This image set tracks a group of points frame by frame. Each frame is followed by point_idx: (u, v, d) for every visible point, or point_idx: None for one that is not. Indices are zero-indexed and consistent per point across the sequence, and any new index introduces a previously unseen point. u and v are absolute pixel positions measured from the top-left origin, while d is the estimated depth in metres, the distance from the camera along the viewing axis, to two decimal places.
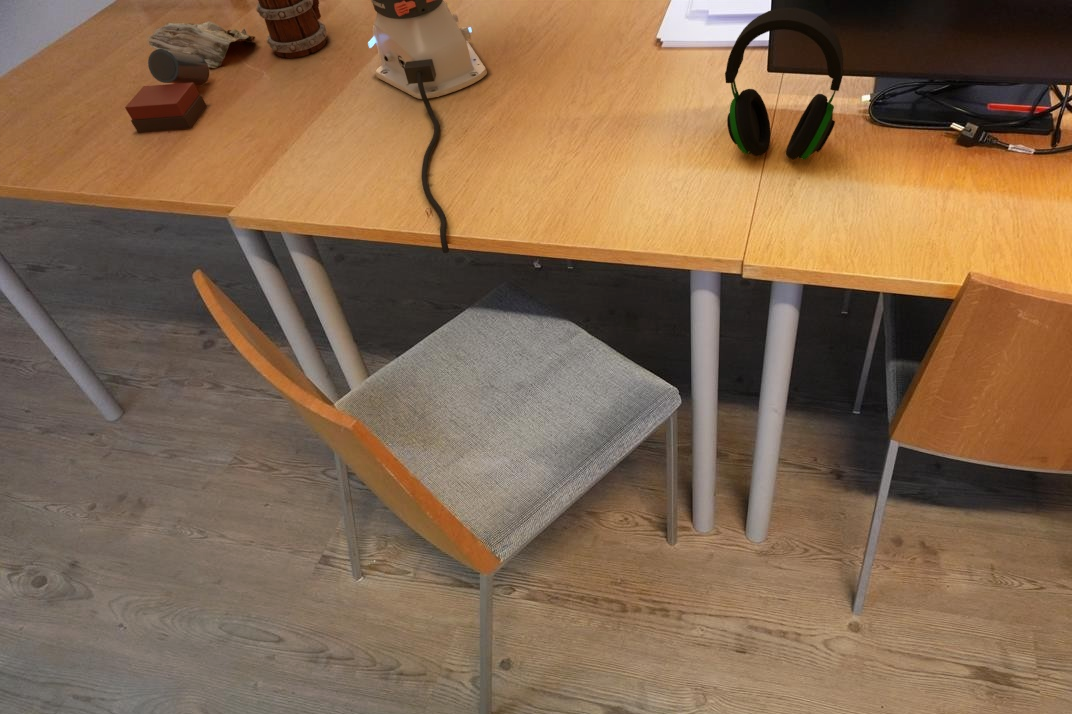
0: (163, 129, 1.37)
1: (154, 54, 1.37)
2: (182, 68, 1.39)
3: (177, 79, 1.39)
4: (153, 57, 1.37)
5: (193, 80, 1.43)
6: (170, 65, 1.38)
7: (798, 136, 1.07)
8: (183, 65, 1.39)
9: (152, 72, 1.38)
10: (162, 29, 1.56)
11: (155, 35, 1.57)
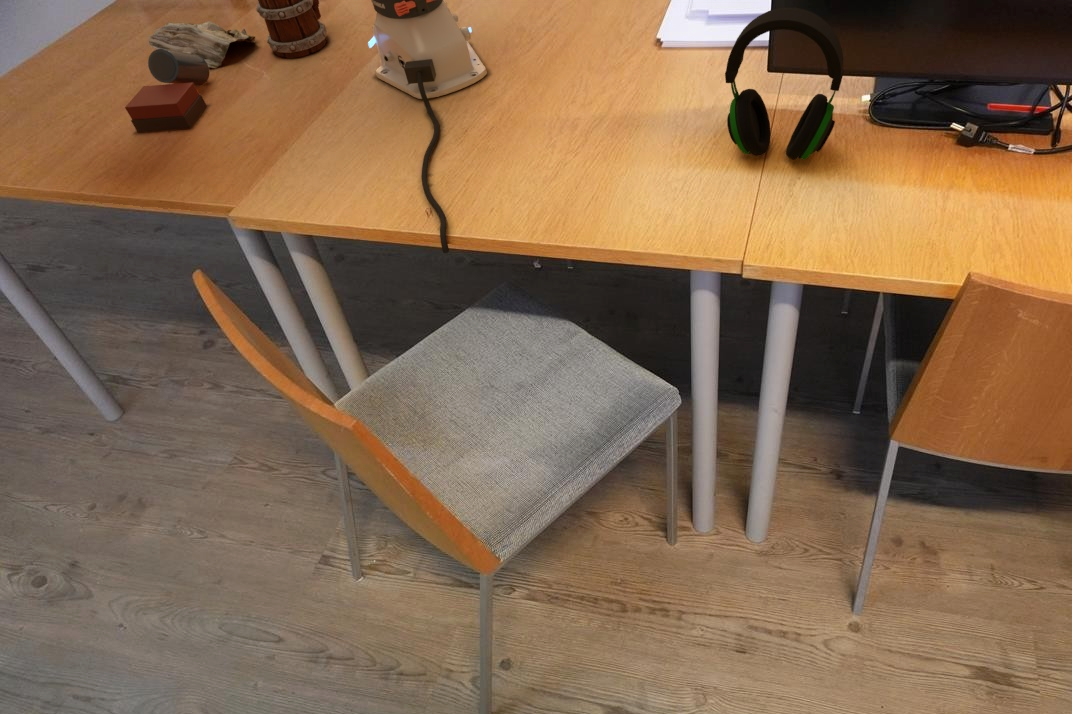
0: (163, 129, 1.37)
1: (154, 54, 1.37)
2: (182, 68, 1.39)
3: (177, 79, 1.39)
4: (153, 57, 1.37)
5: (193, 80, 1.43)
6: (170, 65, 1.38)
7: (798, 136, 1.07)
8: (183, 65, 1.39)
9: (152, 72, 1.38)
10: (162, 29, 1.56)
11: (155, 35, 1.57)
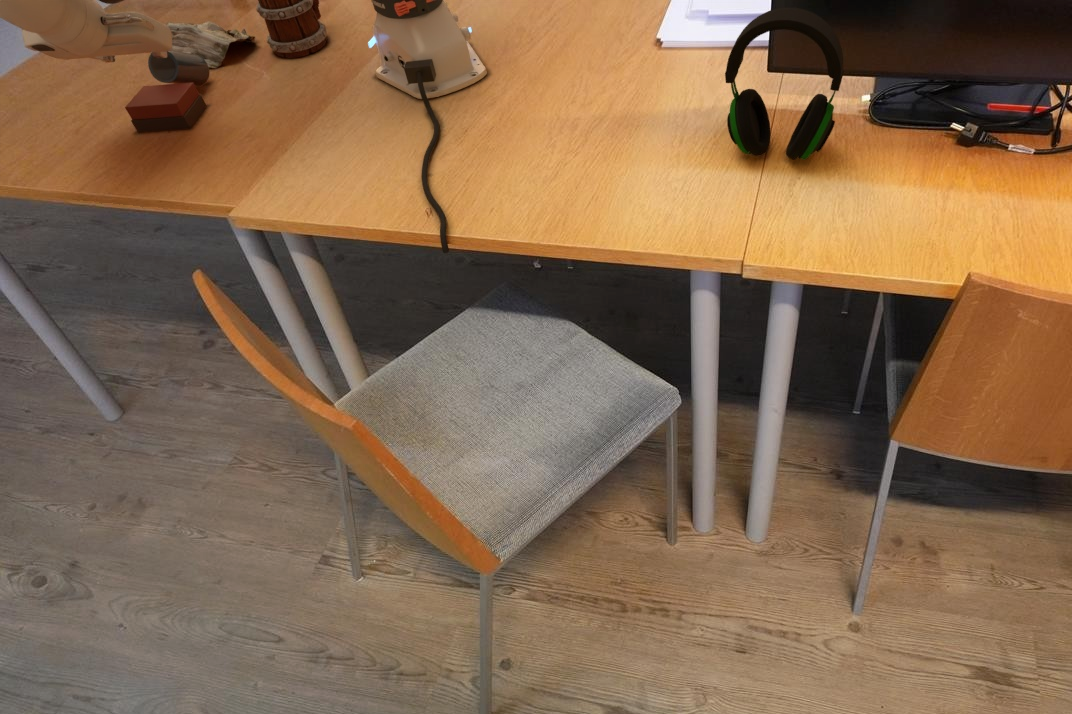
0: (163, 129, 1.37)
1: None
2: (182, 68, 1.39)
3: (177, 79, 1.39)
4: (153, 57, 1.37)
5: (193, 80, 1.43)
6: (170, 65, 1.38)
7: (798, 136, 1.07)
8: (183, 65, 1.39)
9: (152, 72, 1.38)
10: None
11: None
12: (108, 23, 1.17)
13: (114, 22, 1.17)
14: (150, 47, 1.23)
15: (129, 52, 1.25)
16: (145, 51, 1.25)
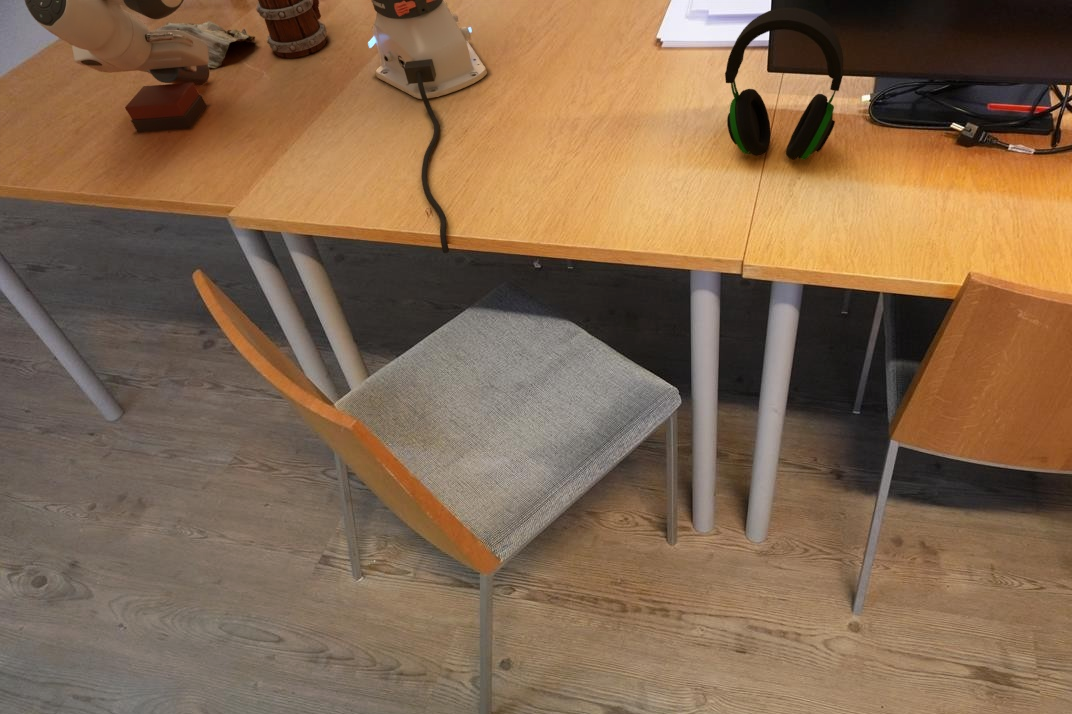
0: (163, 129, 1.37)
1: None
2: (182, 68, 1.39)
3: (177, 79, 1.39)
4: None
5: (193, 80, 1.43)
6: None
7: (798, 136, 1.07)
8: None
9: (152, 72, 1.38)
10: (162, 29, 1.56)
11: None
12: (152, 40, 1.27)
13: (158, 39, 1.27)
14: (189, 61, 1.33)
15: (169, 66, 1.35)
16: (184, 65, 1.35)
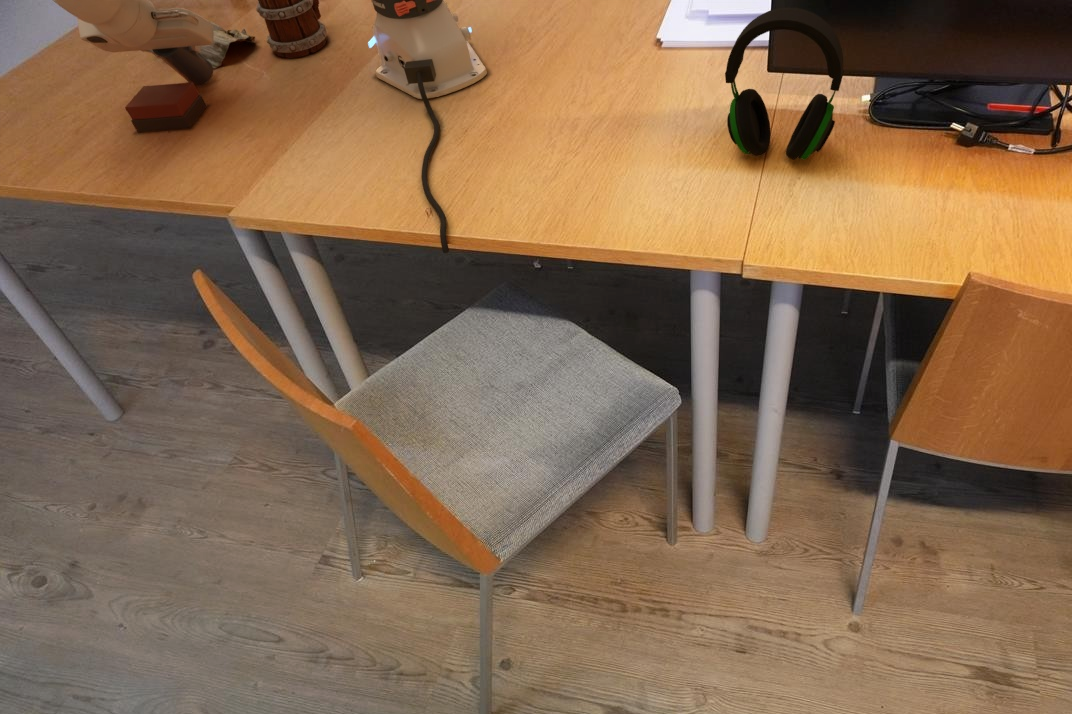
0: (163, 129, 1.37)
1: None
2: (184, 47, 1.40)
3: (176, 56, 1.39)
4: None
5: (193, 68, 1.43)
6: None
7: (798, 136, 1.07)
8: None
9: None
10: None
11: None
12: (158, 17, 1.28)
13: (163, 16, 1.28)
14: (193, 41, 1.35)
15: (173, 45, 1.36)
16: (188, 45, 1.36)
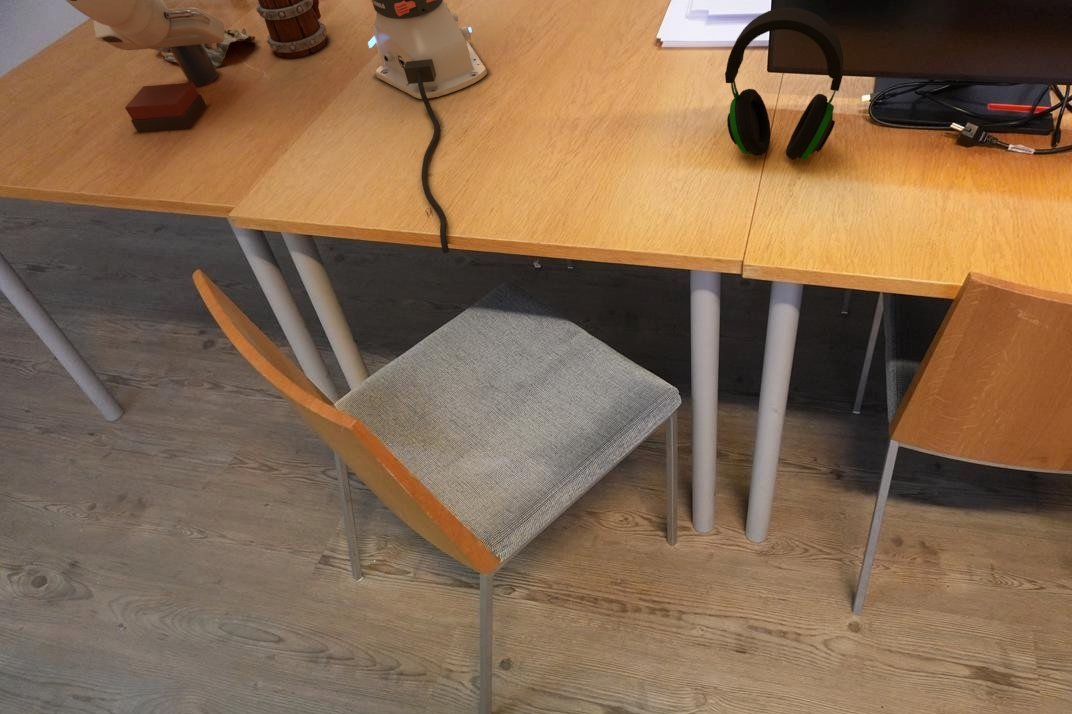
0: (163, 129, 1.37)
1: None
2: None
3: None
4: None
5: (196, 61, 1.45)
6: None
7: (798, 136, 1.07)
8: None
9: None
10: None
11: None
12: (170, 17, 1.32)
13: (176, 16, 1.32)
14: (205, 39, 1.38)
15: (186, 43, 1.40)
16: (200, 43, 1.40)
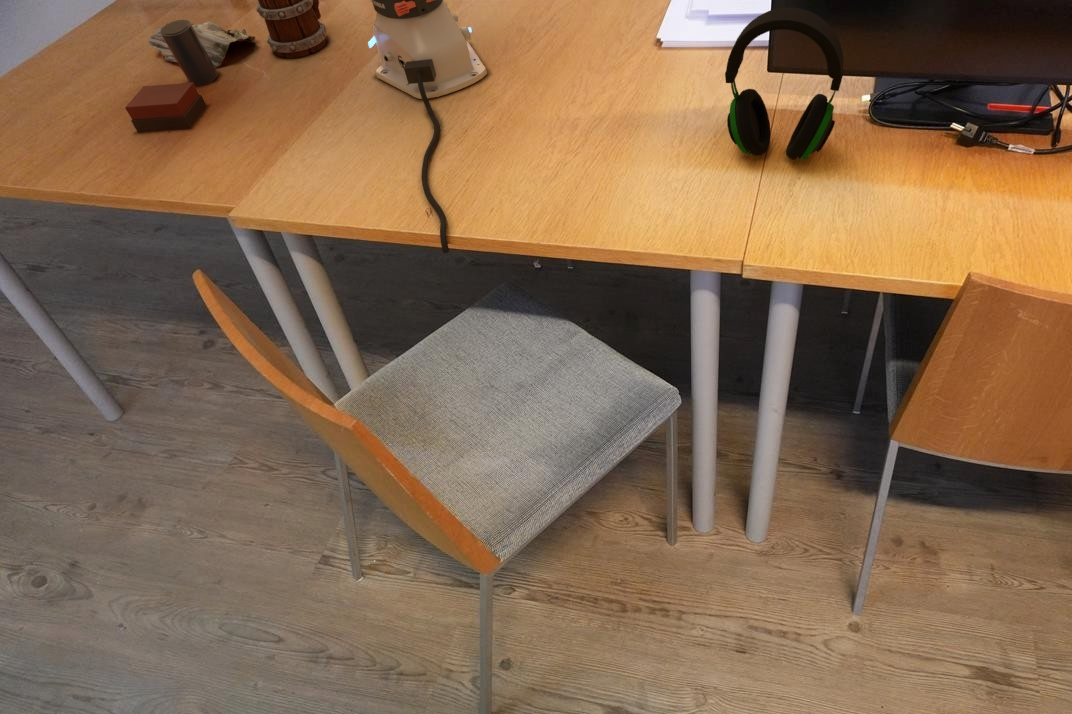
0: (163, 129, 1.37)
1: (173, 22, 1.43)
2: (192, 35, 1.42)
3: (182, 38, 1.41)
4: (170, 23, 1.42)
5: (196, 61, 1.45)
6: (182, 27, 1.41)
7: (798, 136, 1.07)
8: (194, 35, 1.43)
9: (161, 31, 1.41)
10: None
11: (155, 35, 1.57)
12: None
13: None
14: None
15: None
16: None
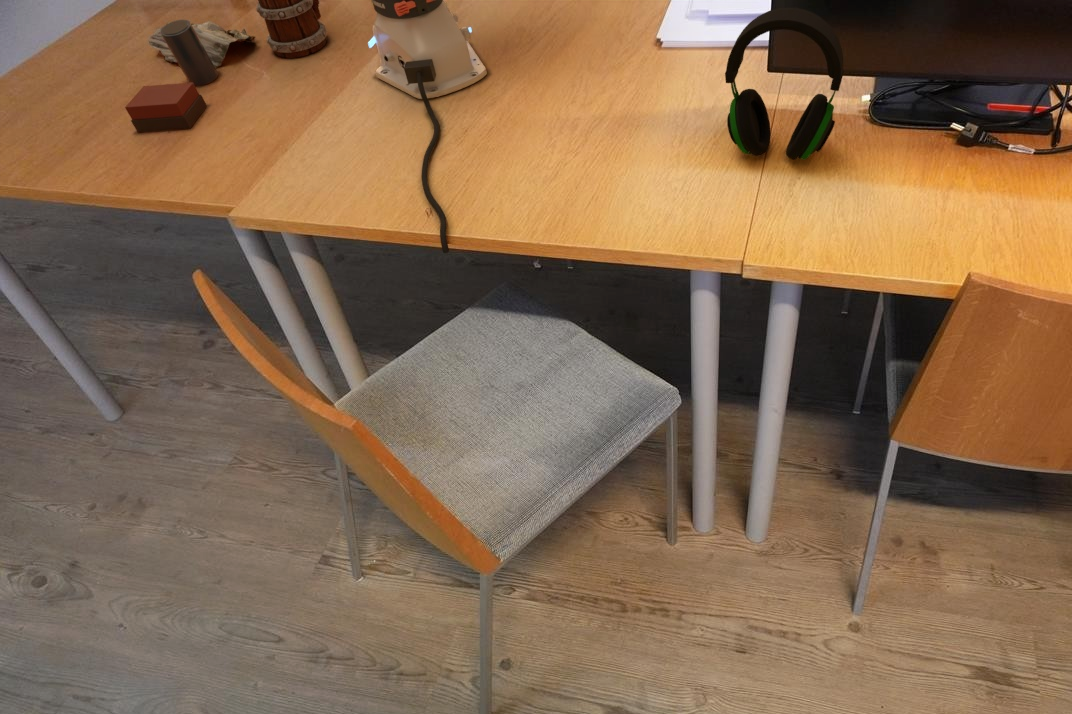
0: (163, 129, 1.37)
1: (173, 22, 1.43)
2: (192, 35, 1.42)
3: (182, 38, 1.41)
4: (170, 23, 1.42)
5: (196, 61, 1.45)
6: (182, 27, 1.41)
7: (798, 136, 1.07)
8: (194, 35, 1.43)
9: (161, 31, 1.41)
10: None
11: (155, 35, 1.57)
12: None
13: None
14: None
15: None
16: None
